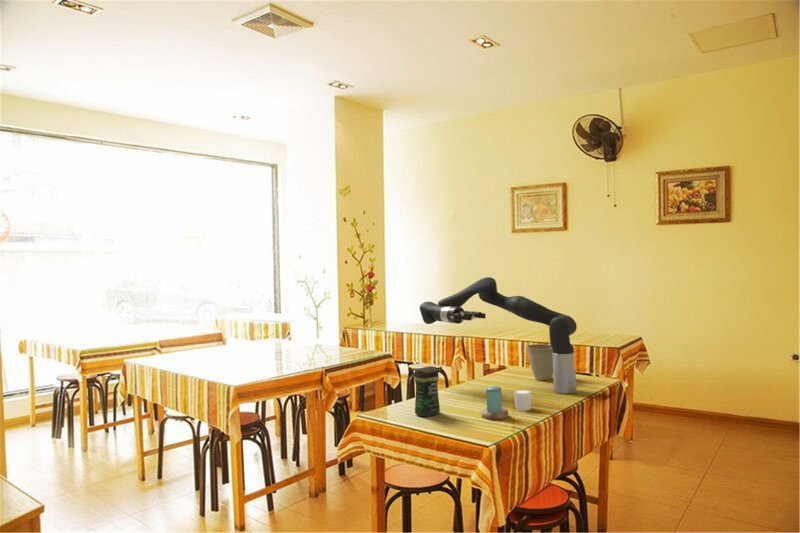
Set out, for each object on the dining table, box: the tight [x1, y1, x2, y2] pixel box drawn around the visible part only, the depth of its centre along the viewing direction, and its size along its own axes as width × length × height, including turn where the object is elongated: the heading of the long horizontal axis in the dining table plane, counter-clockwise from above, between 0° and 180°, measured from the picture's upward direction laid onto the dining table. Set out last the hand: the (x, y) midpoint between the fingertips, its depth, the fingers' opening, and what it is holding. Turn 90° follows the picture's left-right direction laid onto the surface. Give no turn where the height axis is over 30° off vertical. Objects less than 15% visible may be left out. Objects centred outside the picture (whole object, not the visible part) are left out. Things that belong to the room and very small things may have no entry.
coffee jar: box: [413, 365, 441, 417], centre depth 226 cm, size 10×8×19 cm
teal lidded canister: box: [485, 385, 503, 413], centre depth 219 cm, size 6×6×9 cm
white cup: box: [513, 389, 532, 412], centre depth 227 cm, size 7×7×7 cm
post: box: [481, 407, 509, 421], centre depth 219 cm, size 10×10×8 cm
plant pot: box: [526, 343, 553, 381], centre depth 278 cm, size 15×15×16 cm
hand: (478, 316), depth 247 cm, fingers open, 8 cm apart
